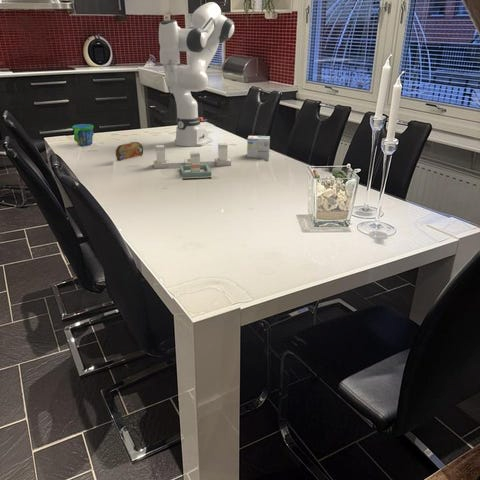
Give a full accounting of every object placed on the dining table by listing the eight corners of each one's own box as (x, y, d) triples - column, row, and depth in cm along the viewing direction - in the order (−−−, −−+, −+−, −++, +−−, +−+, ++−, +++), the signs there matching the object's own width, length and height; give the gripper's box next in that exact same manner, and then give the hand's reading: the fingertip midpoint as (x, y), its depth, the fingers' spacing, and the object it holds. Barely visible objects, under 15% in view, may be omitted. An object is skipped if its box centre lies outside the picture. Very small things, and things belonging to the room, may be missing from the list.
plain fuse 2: (218, 162, 214) (218, 143, 211) (226, 162, 215) (226, 143, 211) (219, 164, 211) (219, 145, 208) (227, 164, 212) (227, 144, 208)
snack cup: (84, 148, 242) (81, 129, 238) (67, 147, 245) (64, 127, 241) (102, 142, 255) (100, 124, 251) (86, 141, 259) (83, 122, 254)
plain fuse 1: (157, 165, 209) (155, 145, 205) (165, 164, 210) (164, 145, 206) (157, 167, 206) (156, 147, 202) (165, 167, 207) (164, 146, 203)
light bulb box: (269, 157, 231) (270, 135, 226) (268, 161, 224) (269, 138, 220) (247, 156, 231) (248, 135, 227) (246, 160, 225) (247, 138, 221)
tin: (119, 164, 216) (118, 146, 212) (115, 163, 217) (113, 145, 214) (144, 158, 227) (142, 140, 223) (139, 157, 228) (138, 139, 225)
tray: (180, 172, 205) (180, 165, 203) (207, 171, 207) (207, 164, 206) (182, 180, 194) (182, 173, 193) (211, 178, 196) (211, 172, 195)
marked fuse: (190, 172, 201) (190, 151, 198) (199, 171, 202) (198, 151, 198) (191, 174, 198) (191, 153, 194) (200, 174, 199) (199, 153, 195)
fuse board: (153, 167, 212) (153, 159, 210) (228, 163, 218) (228, 156, 217) (154, 172, 204) (153, 164, 202) (231, 169, 210) (231, 161, 209)
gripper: (178, 61, 200) (180, 94, 206) (175, 58, 218) (176, 89, 224) (164, 61, 199) (165, 94, 204) (161, 58, 217) (163, 89, 223)
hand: (171, 91), depth 214 cm, fingers open, 8 cm apart
